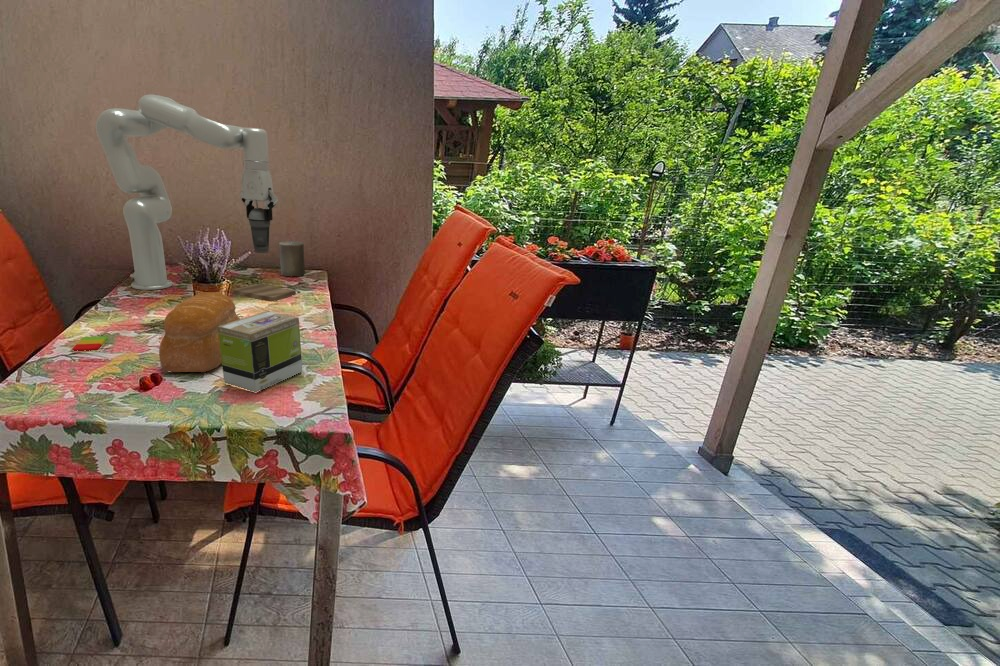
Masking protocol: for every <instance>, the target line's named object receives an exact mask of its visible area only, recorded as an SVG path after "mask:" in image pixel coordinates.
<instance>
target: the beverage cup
mask: <svg viewBox="0 0 1000 666" xmlns="http://www.w3.org/2000/svg"><path fill="white" fill-rule="evenodd" d="M258 204H259V203H258V201H255V206H256V207H254V209H253V210H252V211H251V212H250V214H249V218H247V219H248V222H249V226H250V231H251V232H250V233H251V237H252V243H253V248H254V250H253V251H254V253H256V254H268V253H269V248H270V247H269V246H270V227H271V220H270V221H265V219H264V209H265V208H263V207H259V205H258Z"/></svg>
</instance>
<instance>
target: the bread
mask: <svg viewBox="0 0 1000 666" xmlns="http://www.w3.org/2000/svg"><path fill="white" fill-rule="evenodd" d="M236 308H237V307H236V305H235V302H234V301H233V300H232V299H231V298H230V297H229V296H228V295H226V294H224V293H222V292H206V291H205V292H201V293H197V294H195V295H194V296H192V297H189V298H187V299H185V300H183V301H182V302H180V303H178V304H177V305H176V306H175V307H174V308H173V309H172V310H171V311H169V313H168V314H166V316H165V318H164V321H163V322H164V323H163V329H164V335H163V337H162V339H161V343H160V346H159V348H158V356H159V362H160V366H161V367H162V369H163V370H164V371H165V372H167V371H171V372H170V373H172V372H201V373H207V372H210V371H212V370H214V368H215V369H217V368H218V367H219V366H220V365H222V359H221V349H220V341H219V332H218V326H221V325H224V324H227V323H230V322H234V321H237V320H240V319H241V318H240V317H239V316H238V315H237V313H236ZM216 367H217V368H216ZM206 371H207V372H206Z"/></svg>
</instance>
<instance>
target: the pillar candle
mask: <svg viewBox="0 0 1000 666" xmlns="http://www.w3.org/2000/svg"><path fill="white" fill-rule="evenodd" d="M278 248H279V261H280V263H279V264H280V265H279V266H280V275H281V276H282V275H284V276H283V277H285V276H291V277H290V278H293V277H292V276H301V277H303V276H302V275H304V274H305V275H306V269H305V253H304V252H305V247H304V242H301V241H293V240H292V239H291V241H281V242H279V246H278ZM305 275H304V276H305Z"/></svg>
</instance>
